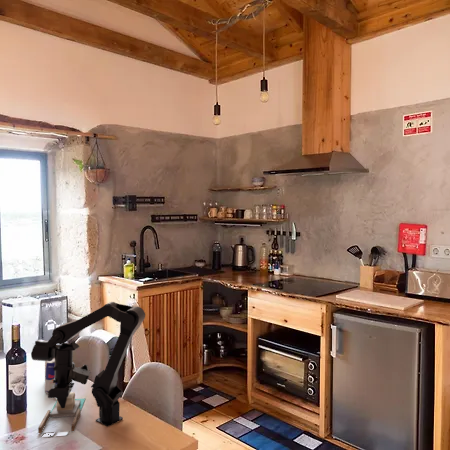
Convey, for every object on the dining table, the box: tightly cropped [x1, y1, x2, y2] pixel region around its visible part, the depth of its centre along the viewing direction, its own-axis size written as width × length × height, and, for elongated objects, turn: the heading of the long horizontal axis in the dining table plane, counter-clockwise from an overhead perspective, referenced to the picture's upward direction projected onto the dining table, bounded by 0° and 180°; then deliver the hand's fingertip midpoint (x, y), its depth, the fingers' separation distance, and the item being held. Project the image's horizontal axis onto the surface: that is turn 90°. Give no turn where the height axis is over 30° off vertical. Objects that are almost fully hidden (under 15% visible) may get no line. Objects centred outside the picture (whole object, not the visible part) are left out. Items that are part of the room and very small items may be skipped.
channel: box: [37, 408, 82, 438], centre depth 136 cm, size 14×11×2 cm
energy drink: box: [44, 358, 57, 395], centre depth 162 cm, size 5×5×12 cm
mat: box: [50, 398, 86, 414], centre depth 150 cm, size 10×10×1 cm
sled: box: [50, 391, 81, 418], centre depth 146 cm, size 10×8×5 cm
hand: (63, 407), depth 142 cm, fingers closed
